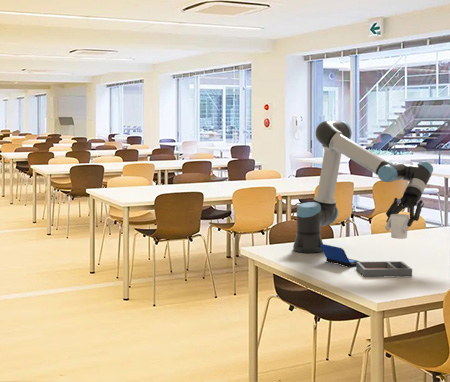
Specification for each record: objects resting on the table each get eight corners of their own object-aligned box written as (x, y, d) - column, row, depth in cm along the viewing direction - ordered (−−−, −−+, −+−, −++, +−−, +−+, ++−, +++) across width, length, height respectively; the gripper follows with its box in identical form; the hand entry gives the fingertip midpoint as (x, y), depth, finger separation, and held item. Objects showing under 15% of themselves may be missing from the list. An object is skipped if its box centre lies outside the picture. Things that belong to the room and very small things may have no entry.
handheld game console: (364, 265, 297) (365, 245, 296) (342, 269, 290) (342, 248, 289) (340, 259, 310) (341, 240, 309) (319, 263, 303) (319, 243, 302)
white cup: (408, 239, 289) (409, 216, 288) (390, 238, 291) (390, 216, 290) (407, 236, 297) (408, 214, 296) (389, 235, 299) (389, 213, 298)
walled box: (363, 277, 275) (364, 269, 274) (356, 268, 290) (356, 261, 289) (412, 276, 275) (412, 269, 275) (401, 268, 290) (402, 261, 290)
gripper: (438, 197, 296) (419, 238, 286) (396, 194, 310) (377, 232, 301) (432, 187, 292) (413, 227, 282) (391, 183, 306) (371, 222, 296)
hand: (395, 230), depth 291 cm, fingers closed on white cup, 8 cm apart
